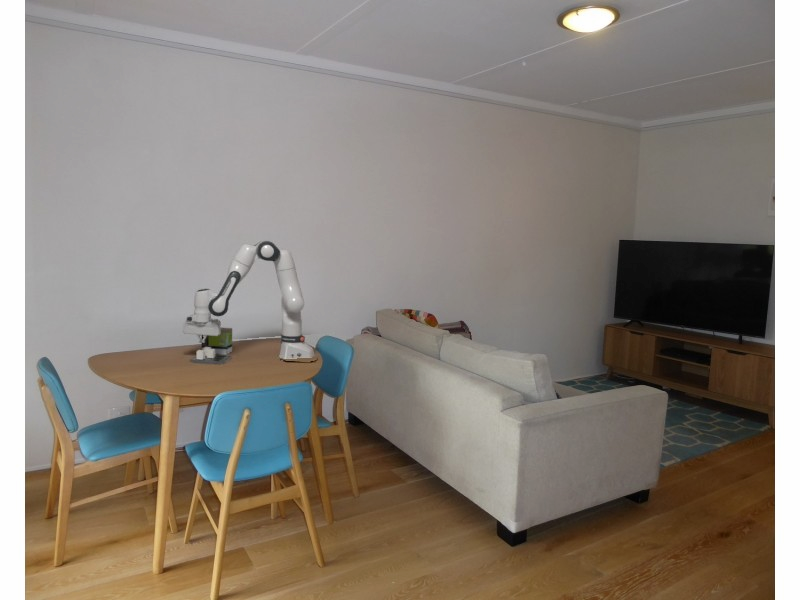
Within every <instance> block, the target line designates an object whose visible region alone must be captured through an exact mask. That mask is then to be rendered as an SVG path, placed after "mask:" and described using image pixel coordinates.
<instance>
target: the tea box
mask: <svg viewBox="0 0 800 600" xmlns="http://www.w3.org/2000/svg"><path fill="white" fill-rule="evenodd" d="M220 328H221V334H220V335H219V336H209V335H207V337H206V339H205V343H200V344H201V347H200V348H201V350H203V348H204V347H211V349H215V355H221V356H228V355H229V354H231V353H232V352H233V328H232V327H221V326H220ZM200 337H201V339H203V338H204V337H203V335H201V336H200ZM230 352H231V353H230Z"/></svg>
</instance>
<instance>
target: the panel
mask: <svg viewBox="0 0 800 600" xmlns="http://www.w3.org/2000/svg"><path fill="white" fill-rule="evenodd" d="M228 360H229V361H230V360H232V356H231V355H218V354H215V357H214V358H207V356H205V359H203V360H201V359H197V355H196V356H195V357H192V358H191V359H189V363H190V362H193V364H205V363H206V365H207V364H208V365H209V364H211V365H221V364H223V365H224V364H226V363H227V362H229V361H228ZM225 362H226V363H225Z"/></svg>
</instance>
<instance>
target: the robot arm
mask: <svg viewBox="0 0 800 600" xmlns="http://www.w3.org/2000/svg"><path fill="white" fill-rule="evenodd" d="M259 259H261V260H263V261H265V262H266V261H267V262H272V263H273V264H274V268H275V274H276V278H277V282H278V285H279V289H280V292H281V293H280V294H281V300H280V301H281V319H282V320H281V322H282V323H281V325H282V326H281V335H280V352H279V356H278V358H279V357H280V358H283V359H297V358H312V357H313V356H315V350H314V348H313V347H312V346H311V345H310V344H308V343H307V342H306V341H305V340H306V339H305V337H306V336H305V335H303V334H302V329H303V327H302V325H303V322H302V320H303V319H302V315H301V314H302V312H301V311H302V310H303V309H304V307H305V300H304V296H303V292H302V289H301V285H300V283H299V278H298V273H297V270H296V269H297V268H296V264H295V261H294V258H293V255H292V253H291V251H290V250H288V249H284V248H283V249H279V248H278V247H277V245H276V244H275V243H274V242H273V241H271V240H267V239H264V240H261V241H259V242H258V243H256V244H254V245H252V244H248V243H245V244H244V243H243V244H242V245H240V247H239V248H238V249H237V250H236V252H235V254H234V256H233V258H232V259H231V261H230V263H229V266H228V268H227V269H228V270H227V273H226V274H227V275H226V278H225V281H224V283H223V285H222V287H221V289H220V291H219V293H217V292H215V291H212V290H211V289H210V288H201V289H198V290H197V291H195V293H194V300H193V306H194V310H193V314H190V315H188V316H185V317H184V322H183V326H182V333H183V334H185V335H196V338H197V340H198V343H199V344H201V343H205V339H206V337H207V335H209V336H219V335H220V334H221V328H222V327H221V325H222V323H221V320H220V319H218V318H212V317H211V316H214V317H222V316H224V315H225V314H227V312H228V310H229V305H230V303H229V302H230V299H231V298H232V295H233V293H234V292H235V289H236V288H237V287H238V285H239V284H240V283H241V282H242V281H243V279H245V277H246V276H248V275H247V274H249V272H251V268H252V266H253V265H254V263H255V262H256V261H257V260H259ZM220 327H221V328H220ZM201 335H203V337H204V338H203V339H202V336H201Z"/></svg>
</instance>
